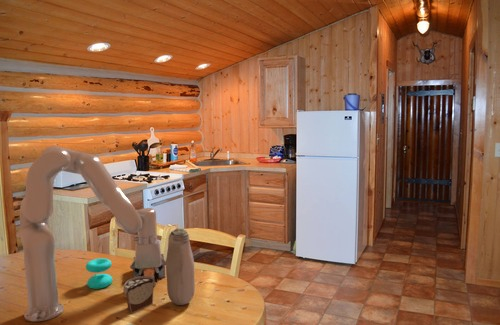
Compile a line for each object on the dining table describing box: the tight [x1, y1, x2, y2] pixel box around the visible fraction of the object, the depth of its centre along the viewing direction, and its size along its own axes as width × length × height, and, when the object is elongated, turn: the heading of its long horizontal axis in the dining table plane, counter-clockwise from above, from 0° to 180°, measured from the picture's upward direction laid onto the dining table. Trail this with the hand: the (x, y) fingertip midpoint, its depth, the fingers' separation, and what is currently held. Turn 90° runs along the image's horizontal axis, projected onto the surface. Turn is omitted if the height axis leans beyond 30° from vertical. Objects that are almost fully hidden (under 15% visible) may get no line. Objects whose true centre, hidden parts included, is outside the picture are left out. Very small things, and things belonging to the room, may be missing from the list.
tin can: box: [143, 267, 157, 288], centre depth 168 cm, size 5×5×8 cm
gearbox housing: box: [132, 253, 166, 279], centre depth 181 cm, size 13×13×7 cm
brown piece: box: [123, 276, 155, 315], centre depth 151 cm, size 12×6×10 cm, turn 141°
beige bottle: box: [165, 228, 196, 306], centre depth 152 cm, size 10×10×28 cm
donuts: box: [85, 257, 114, 290], centre depth 170 cm, size 10×10×10 cm
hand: (149, 281), depth 169 cm, fingers closed on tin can, 5 cm apart
